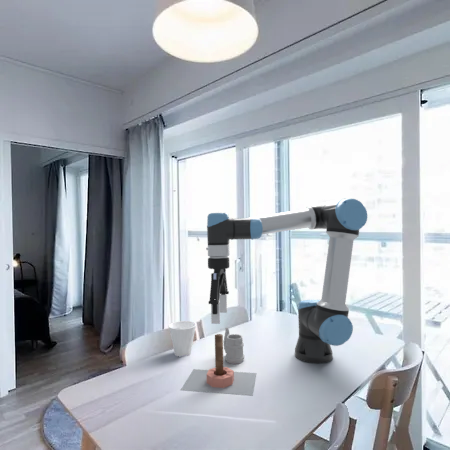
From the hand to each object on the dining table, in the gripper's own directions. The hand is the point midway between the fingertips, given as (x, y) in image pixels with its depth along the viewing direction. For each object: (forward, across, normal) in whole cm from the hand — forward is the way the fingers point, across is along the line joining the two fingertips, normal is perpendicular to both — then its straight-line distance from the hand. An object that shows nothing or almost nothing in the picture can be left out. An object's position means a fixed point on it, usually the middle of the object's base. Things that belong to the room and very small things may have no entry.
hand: (219, 317), depth 114 cm
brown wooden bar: (+22, 0, 0) cm, 22 cm away
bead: (+22, 0, 0) cm, 22 cm away
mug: (+23, -20, +1) cm, 30 cm away
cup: (+23, -23, -21) cm, 39 cm away
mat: (+23, 0, 0) cm, 23 cm away
